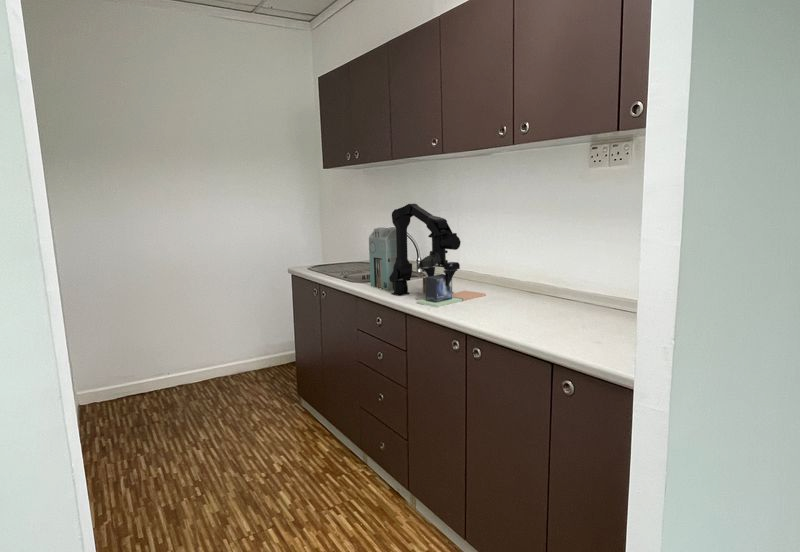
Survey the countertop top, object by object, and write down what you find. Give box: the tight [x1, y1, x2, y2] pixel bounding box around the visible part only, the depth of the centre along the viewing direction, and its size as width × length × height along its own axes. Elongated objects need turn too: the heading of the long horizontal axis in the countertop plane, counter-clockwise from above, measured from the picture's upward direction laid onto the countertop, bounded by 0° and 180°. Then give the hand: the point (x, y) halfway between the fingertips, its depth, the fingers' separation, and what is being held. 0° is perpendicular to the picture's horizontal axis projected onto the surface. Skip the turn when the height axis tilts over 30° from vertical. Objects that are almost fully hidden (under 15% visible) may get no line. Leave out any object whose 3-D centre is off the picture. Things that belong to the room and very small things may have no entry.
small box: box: [425, 273, 453, 302], centre depth 222 cm, size 11×6×10 cm, turn 133°
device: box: [368, 227, 397, 292], centre depth 261 cm, size 16×8×30 cm, turn 34°
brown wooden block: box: [422, 276, 455, 294], centre depth 244 cm, size 14×6×7 cm, turn 43°
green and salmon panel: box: [416, 290, 486, 308], centre depth 229 cm, size 12×32×1 cm, turn 133°
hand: (439, 284), depth 222 cm, fingers open, 9 cm apart
